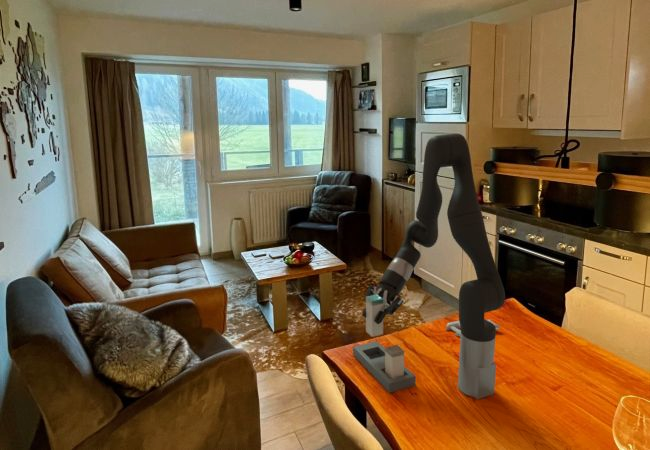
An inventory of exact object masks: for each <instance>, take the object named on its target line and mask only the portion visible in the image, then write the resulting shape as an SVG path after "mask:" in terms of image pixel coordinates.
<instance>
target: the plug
mask: <svg viewBox="0 0 650 450" xmlns="http://www.w3.org/2000/svg"><path fill="white" fill-rule="evenodd" d="M382 306H383V298H381V297H380V296H378V295H372V296H367V297H366V302H365V307H366V318H365V332H366V333H367V334H368V335H369V336H370V337H373V338H374V337H378V336H381V335H384V319H383V320H382V322H381V323H380V324H377V323H375V322H374V320H375V318H376V316H377V315H378V313H379V311H381V308H382Z"/></svg>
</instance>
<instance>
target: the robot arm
mask: <svg viewBox="0 0 650 450" xmlns="http://www.w3.org/2000/svg"><path fill="white" fill-rule="evenodd" d="M423 155H424V156H423V169H422V170H423V171H422V182H421V184H422V185H421V191H420V197H419V201H418V205H417V208H416V211H415V212H416V213H415V217H416V219H417V220H415V219H414V220H412V221H410V222H409V223H408V225H407V227H406V230H405V235H404V238H403V241H402V243H401V245H400V248H399V250H398V252H397V253H396V255H395V257H394V258H393V259H392V261H391V262H390V263H389V265H388V266H387V269H386V270H385V272H384V273H383V275H382V277H381V278H380V282H379V284H378V285H377V286H373V285H372V284H370V285H368V288H367V291H366V293H365V296H364V299H363V301H364V302H365V303H366V297H367V296H372V295H378V296H380V297H381V298H383V306H382V308H381V311H379V313H378V315H377V316H376V318H375V320H374V322H375V323H377V324H380V323H381V322H382V320H383V321H384V319H385V317H386V316H387V315H390V316H392V315H394V314H395V313H396V311H397V310H398V309H399V308H400V307H401V306H402V305H403V304H404V300H403V298H402V297H400V296H399V294H401V292H402V291H403V289H404V287H405V285H406V284H407V282H408V280H409V279H410V277H411V275H412V273H413V270H414V269H415V267H416V265H417V264H418V262H419V261H420V259H421V256H422V255H421V252H420V251H419V249H417V248H416V247H415V246H414V245H413V244H412V242H414V243H416V244H418V245H420V246H422V247H424V248H427V249H429V248H431V247H434V246H435V245H436V243H437V242H438V237H439V224H438V223H439V215H440V212H441V208H442V205H443V194H442V191H441V188H440V186H439V183H438V173H439V172H440V169H441V168H447V167H452V170H453V177H454V179H453V180H454V187H453V190H452V194H451V197H450V199H449V202H448V206H447V210H446V211H447V213H446V215H447V221H448V224H449V228H450V232H451V236H452V237H453V240H454V241H455V242H456V244H457V245H458V246H459V247H460V249H461V250H462V251H463V252H464V253H465V254H466V256H468V258H469V259H470V261H471V263H472V265H473V267H474V271H475V274H476V278H477V279H473V280H468V281H466V282H464V283H462V285H460V289H459V291H458V321H459V322H460V326H461V329H460V330H461V337H460V339H459V340H460V342H459V343H460V345H459V358H458V359H459V360H458V378H457V379H458V380H457V388H458V389H459V391H460V392H461V393H463V394H465V395H467V396H469V397H473V398H474V399H476V400H480V399H483V398H486V397H489V396H492V395H495V388H496V387H495V386H496V374H497V373H496V372H497V363H495V362H494V361H495V351H496V349H495V348H496V338H497V337H496V336H497V330H496V327H495V326H494V324H492V323H491V322H489V321H487V320H488V319H485V315H486V313H490V312H493V311H497V310H500V309H502V308H503V306H504V305H505V302H506V293H505V288H504V285H503V282H502V279H501V276H500V274H499V271H498V268H497V264H496V263H495V259H494V257H493V253H492V250H491V245H490V242H489V238H488V235H487V230H486V225H485V221H484V217H483V213H482V210H481V206H480V203H479V202H480V201H479V198H478V194H477V190H476V185H475V180H474V175H473V166H472V159H471V153H470V148H469V144H468V141H467V139H466V138H465V136H464V135H462V134H461V133H449V134H439V135H437V134H436V135H433V136H431V137H429V138H428V140H427V143H426V146H425V149H424V154H423ZM361 316H362V317H363V318H365V319H366V306H365V308H364V309H363V311H362V314H361Z"/></svg>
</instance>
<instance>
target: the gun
mask: <svg viewBox="0 0 650 450" xmlns="http://www.w3.org/2000/svg"><path fill="white" fill-rule="evenodd" d="M486 320H487V321H489V322H491V323H492V324H494V326H495V327H496V331H497V330H500V329H501V325H499V324H497V323H494V322H493V321H492V319H486ZM445 329H446V331H449V330H451V331H453V332H454V333H455V336H457V337H459V338H461V326H460V322H459V320H455V321H451V322H448V323H446V327H445Z"/></svg>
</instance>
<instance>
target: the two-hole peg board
mask: <svg viewBox="0 0 650 450" xmlns="http://www.w3.org/2000/svg"><path fill="white" fill-rule="evenodd" d="M352 353H353V354H352V355H353V357H354V358H356V360H357V361H358V362H359V363H360V365H362V366H363V367H364V368H365V369H366V370H367V371H368V372H369V374H371V375H372V377H373V378H375V380H376V381H377V382H378V383H379V384H380V385H381V386H382V387H383V388H384V389H385V390H386V392H387V393H394V392H397V391H401V390H403V389H408V388H410V387H411V388H412V387H413V386H416V383H417V381H416V380H417V379H416V378H417V376H416V375H415V374H414V373H413V372H412V371H411V370H409V369H408V368H407V367H406V366H405V350H404V349H403V348H401V346H399V345H398V344H394V345H389V346H385V347H384V346H383V344H381V343H379V341H377V340H375V341H372V342H367V343H363V344H358V345H354V346H352Z"/></svg>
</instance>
